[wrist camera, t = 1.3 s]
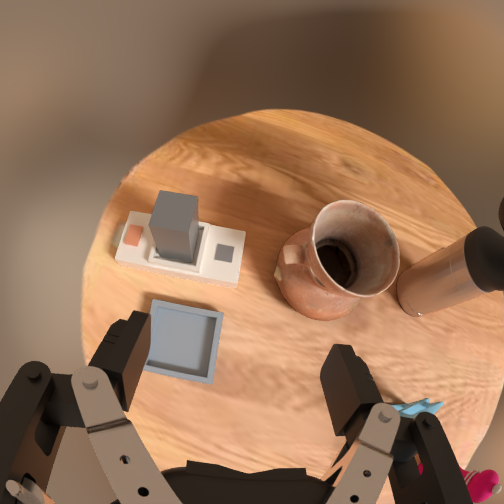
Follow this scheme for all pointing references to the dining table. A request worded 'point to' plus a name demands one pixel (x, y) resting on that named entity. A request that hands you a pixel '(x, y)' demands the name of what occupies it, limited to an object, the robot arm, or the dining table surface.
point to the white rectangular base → (200, 270)
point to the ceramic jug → (337, 261)
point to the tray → (183, 341)
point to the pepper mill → (479, 483)
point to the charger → (175, 225)
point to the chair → (417, 408)
